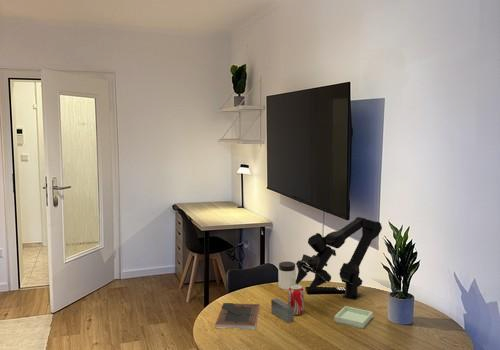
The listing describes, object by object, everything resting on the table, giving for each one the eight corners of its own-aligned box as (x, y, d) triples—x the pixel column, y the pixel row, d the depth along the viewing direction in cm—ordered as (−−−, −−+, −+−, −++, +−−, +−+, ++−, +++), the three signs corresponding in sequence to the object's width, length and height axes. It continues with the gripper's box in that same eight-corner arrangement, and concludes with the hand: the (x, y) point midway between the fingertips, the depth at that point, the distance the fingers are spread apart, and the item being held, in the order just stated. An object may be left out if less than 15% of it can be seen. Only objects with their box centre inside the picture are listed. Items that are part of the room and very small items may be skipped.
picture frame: (223, 308, 209) (215, 329, 188) (223, 302, 209) (214, 324, 188) (259, 309, 208) (255, 331, 186) (259, 303, 207) (255, 325, 186)
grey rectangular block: (277, 311, 203) (277, 298, 203) (294, 320, 193) (293, 307, 193) (271, 312, 202) (271, 299, 201) (287, 322, 192) (287, 309, 191)
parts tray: (345, 311, 202) (345, 306, 201) (372, 317, 195) (372, 312, 195) (334, 322, 192) (334, 316, 191) (362, 328, 185) (362, 323, 185)
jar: (287, 291, 226) (287, 267, 224) (275, 287, 232) (275, 264, 230) (299, 286, 232) (299, 263, 231) (287, 282, 238) (286, 260, 236)
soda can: (300, 317, 197) (299, 290, 195) (285, 313, 200) (285, 287, 199) (307, 311, 203) (306, 285, 201) (292, 308, 206) (292, 282, 205)
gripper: (299, 242, 211) (279, 270, 206) (326, 252, 195) (305, 282, 190) (312, 256, 216) (293, 284, 211) (340, 267, 200) (320, 297, 195)
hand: (302, 286), depth 202 cm, fingers open, 9 cm apart
